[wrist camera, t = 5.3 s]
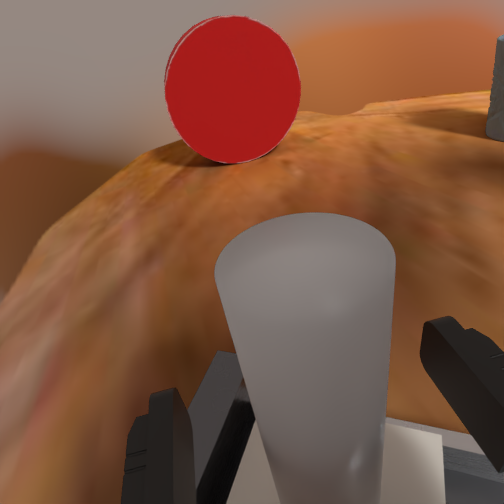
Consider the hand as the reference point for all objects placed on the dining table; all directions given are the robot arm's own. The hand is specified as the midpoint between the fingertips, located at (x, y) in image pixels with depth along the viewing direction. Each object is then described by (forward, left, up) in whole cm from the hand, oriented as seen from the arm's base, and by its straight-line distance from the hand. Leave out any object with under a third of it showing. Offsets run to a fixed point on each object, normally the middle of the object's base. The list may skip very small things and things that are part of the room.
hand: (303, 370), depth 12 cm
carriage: (+1, +1, -10) cm, 10 cm away
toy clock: (-48, -22, -12) cm, 54 cm away
